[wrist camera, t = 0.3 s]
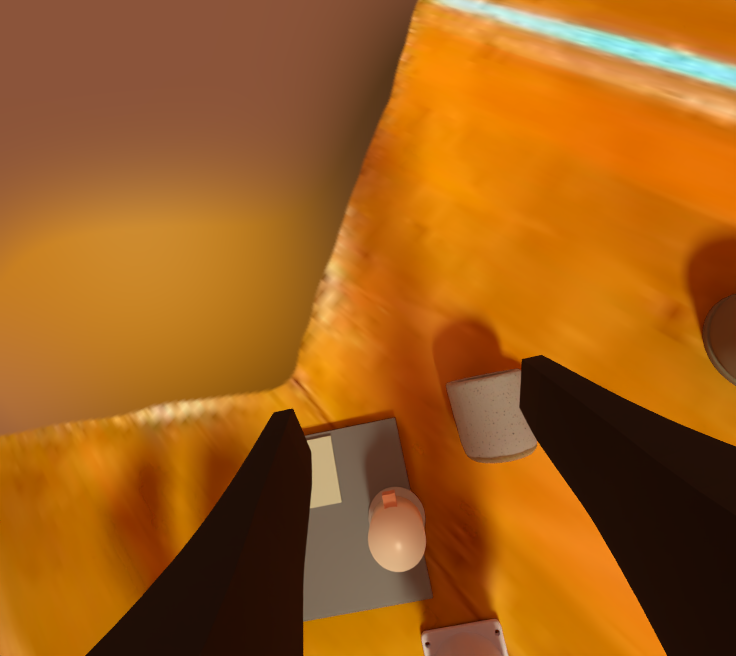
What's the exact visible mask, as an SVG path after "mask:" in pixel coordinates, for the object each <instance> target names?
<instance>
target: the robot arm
mask: <svg viewBox="0 0 736 656" xmlns="http://www.w3.org/2000/svg"><path fill="white" fill-rule="evenodd" d="M519 408H520V410H521V412H522V414H523V416H524V418H525V420H526V422H527V424H528V426H529V427H530V429H531V431H532V433H533V435H534V436H535V438H536V439H537V441H538V442H539V444H540V445H541V447H542V448H543V450H544V451H545V452H546V454H547V455H548V457H549V458H550V460H551V461H552V463H553V464H554V465H555V467H556V468H557V470H558V471H559V472H560V474H561V475H562V477H563V478H564V479H565V481H566V482H567V484H568V485H569V487H570V488H571V489H572V491H573V492H574V494H575V495H576V496H577V498H578V499H579V501H580V502H581V504H582V505H583V506H584V508H585V510H586V511H587V513H588V514H589V516H590V517H591V519H592V520H593V522H594V523H595V525H596V527H597V529H598V530H599V532H600V534H601V535H602V537H603V539H604V541H605V542H606V544H607V546H608V547H609V549H610V551H611V553H612V554H613V556H614V558H615V559H616V561H617V563H618V565H619V567H620V569H621V570H622V572H623V574H624V576H625V578H626V579H627V581H628V583H629V585H630V587H631V588H632V590H633V592H634V594H635V596H636V597H637V599H638V601H639V603H640V605H641V607H642V609H643V610H644V612H645V614H646V616H647V618H648V620H649V622H650V624H651V626H652V628H653V629H654V631H655V633H656V635H657V637H658V639H659V641H660V643H661V645H662V646H663V648H664V650H665V652H666V654H667V656H736V446H733V445H730V444H728V443H725V442H723V441H720V440H718V439H715V438H713V437H710V436H708V435H705V434H703V433H700V432H698V431H695V430H693V429H690V428H688V427H685V426H683V425H681V424H678V423H676V422H674V421H671V420H669V419H667V418H665V417H663V416H660V415H658V414H656V413H654V412H652V411H650V410H647V409H645V408H643V407H641V406H639V405H637V404H635V403H633V402H631V401H629V400H627V399H625V398H622V397H620V396H618V395H617V394H615V393H613V392H611V391H609V390H607V389H605V388H603V387H601V386H599V385H597V384H595V383H593V382H592V381H590V380H588V379H586V378H584V377H582V376H580V375H578V374H577V373H575V372H573V371H571V370H569V369H567V368H566V367H564V366H562V365H560V364H558V363H556V362H554V361H552V360H551V359H549V358H547V357H545V356H543V355H539V356H535V357H530V358H525V359H522V367H521V384H520V402H519ZM311 492H312V454H311V449H310V447H309V445H308V442H307V440H306V438H305V435H304V433H303V431H302V428H301V426H300V424H299V421H298V419H297V417H296V414H295V412H294V410H293V409H288V410H283V411H279V412H274V413H273V415H272V416H271V418H270V419H269V421H268V423H267V424H266V426H265V428H264V429H263V431H262V433H261V435H260V436H259V438H258V440H257V441H256V443H255V445H254V446H253V448H252V450H251V451H250V453H249V455H248V456H247V458H246V459H245V461H244V463H243V464H242V466H241V467H240V469H239V471H238V472H237V474H236V475H235V477H234V479H233V480H232V482H231V483H230V485H229V486H228V488H227V489H226V490H225V492H224V493H223V495H222V496H221V498H220V499H219V501H218V502H217V504H216V505H215V507H214V508H213V509H212V511H211V512H210V514H209V515H208V516H207V518H206V519H205V520H204V522H203V523H202V524H201V526H200V527H199V528H198V530H197V531H196V532H195V534H194V535H193V536H192V538H191V539H190V540H189V541H188V543H187V544H186V545H185V546H184V548H183V549H182V550H181V551H180V553H179V554H178V555H177V556H176V557H175V559H174V560H173V561H172V562H171V563H170V564H169V566H168V567H167V568H166V569H165V570H164V571H163V572H162V574H161V575H160V576H159V577H158V578H157V579H156V581H155V582H154V583H153V584H152V585H151V586H150V587H149V589H148V590H147V591H146V592H145V593H144V594H143V596H142V597H141V598H140V599H139V600H138V601H137V602H136V603H135V604H134V605H133V607H132V608H131V609H130V610H129V611H128V612H127V613H126V614H125V615H124V616H123V617H122V618H121V619H120V620H119V621H118V623H117V624H116V625H115V626H114V627H113V628H112V629H111V630H110V631H109V632H108V633H107V634H106V635H105V636H104V637H103V638H102V639H101V640H100V641H99V642H98V643H97V644H96V645H95V646H94V647H93V648H92V649H91V650H90V651H89V652H88V653H87V654H86V655H85V656H303V586H304V566H305V555H306V544H307V534H308V524H309V513H310V503H311ZM495 630H499V632H498V633H495ZM421 639H422V644H423V649H424V654H425V656H508V652H507V648H506V644H505V640H504V636H503V632H502V628H501V625H500V622H499V621H498V620H497V619H490V620H484V621H478V622H473V623H467V624H461V625H456V626H450V627H444V628H439V629H433V630H427V631H424V632H423V633H422V634H421ZM426 642H429V643H430V644H429V645H426V644H425V643H426Z"/></svg>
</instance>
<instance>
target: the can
mask: <svg viewBox="0 0 736 656" xmlns="http://www.w3.org/2000/svg"><path fill="white" fill-rule="evenodd" d="M703 342H704V347H705V350H706V353H707V355H708V357H709V359H710V361H711V362H712V364H713V365H714V367H715V368H716V369H717V370H718V372H719V373H720V374H721V375H722V376H723V377H725V378H726V379H727V380H728V381H729V382H731V383H732V384H734V385H735V386H736V294H733V295H730V296H728V297H726V298H724V299H722V300H721V301H719V302H718V303H717V304H716V305H714V307H713V308H712V309H711V310H710V312H709V313H708V315H707V317H706V319H705V322H704V326H703Z"/></svg>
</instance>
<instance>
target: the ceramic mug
mask: <svg viewBox="0 0 736 656" xmlns="http://www.w3.org/2000/svg"><path fill="white" fill-rule="evenodd" d="M520 384H521V370H520V369H511V370H505V371H499V372H494V373H488V374H484V375H478V376H473V377H469V378H464V379H460V380H455V381H451V382H449V383H447V384H446V389H447V393H448V396H449V399H450V403H451V407H452V411H453V415H454V418H455V421H456V425H457V429H458V433H459V436H460V440H461V443H462V446H463V448H464V450H465V453H466V454H467V456H468V457H469V458H471V459H472V460H474V461H477V462H481V463H502V462H509V461H514V460H517V459H521V458H524V457H526V456H528V455H530V454H532V453H533V451H534V450H535V449H536V447H537V439H536V438H535V436H534V435H533V433H532V431H531V429H530V427H529V426H528V424H527V422H526V420H525V418H524V416H523V414H522V412H521V410H520V408H519V402H520Z"/></svg>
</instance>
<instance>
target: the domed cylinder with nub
mask: <svg viewBox="0 0 736 656" xmlns="http://www.w3.org/2000/svg"><path fill="white" fill-rule="evenodd" d="M382 499H383V500H382V501H381V502H380V503H379V504H378V505H377V506H376V507H375V509H374V511H373V514H372V517H371V522H370V527H369V532H368V544H369V549H370V552H371V554H372V556H373V557H374V559H375V560H376V561H377V563H378V564H379V565H381V566H382V567H383V568H385V569H387V570H390V571H393V572H404V571H407V570H410V569H411V568H413V567H414V566H416V565H417V564H418V563H419V561H420V560H421V559H422V557H423V555H424V552H425V548H426V536H425V531H424V526H423V521H422V517H421V514H420V512H419V510H418V508H417V507H416V506H415V505H414V504H413V503H412V502H411V501H410V500H408V499H406V498H404V497H400V496H396V494H395V490H390V491H385V492H382Z"/></svg>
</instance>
